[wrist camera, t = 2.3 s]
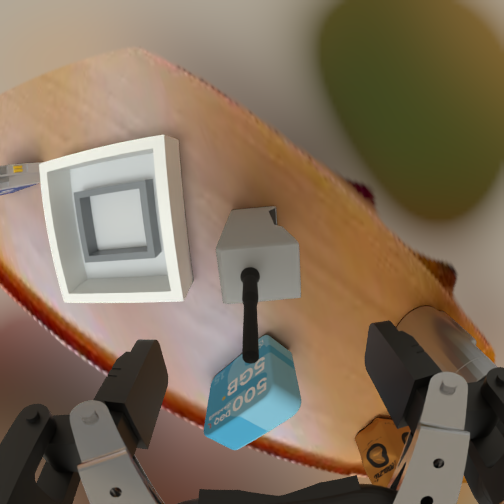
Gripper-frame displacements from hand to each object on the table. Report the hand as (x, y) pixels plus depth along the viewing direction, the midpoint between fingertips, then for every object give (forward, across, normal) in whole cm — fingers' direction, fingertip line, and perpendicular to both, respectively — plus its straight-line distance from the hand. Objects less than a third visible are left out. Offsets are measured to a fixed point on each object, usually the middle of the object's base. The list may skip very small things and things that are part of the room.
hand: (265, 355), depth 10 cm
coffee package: (+25, -23, +42) cm, 54 cm away
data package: (+25, +2, +20) cm, 32 cm away
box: (+25, +16, -2) cm, 29 cm away
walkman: (+25, +32, -10) cm, 42 cm away
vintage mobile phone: (+25, 0, 0) cm, 25 cm away
